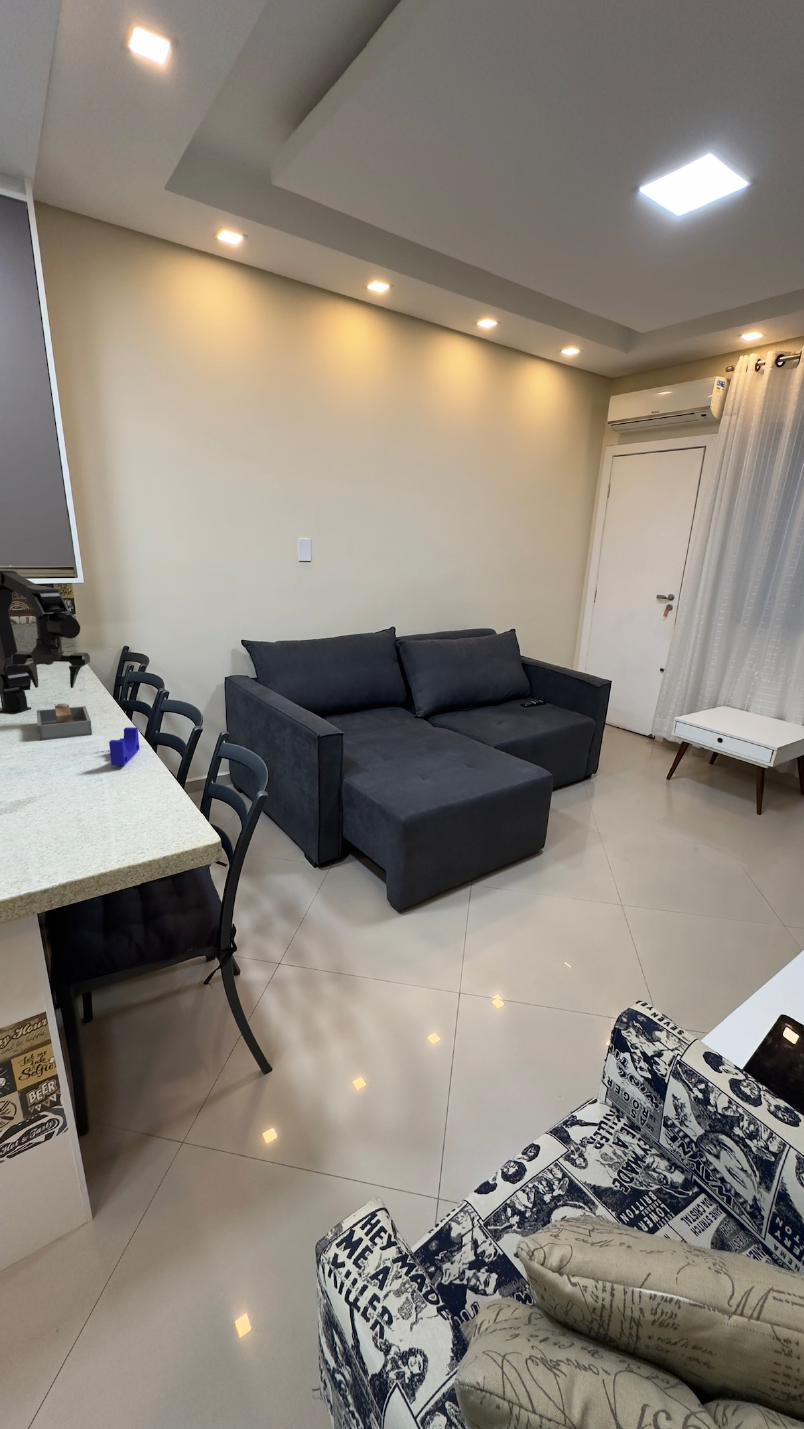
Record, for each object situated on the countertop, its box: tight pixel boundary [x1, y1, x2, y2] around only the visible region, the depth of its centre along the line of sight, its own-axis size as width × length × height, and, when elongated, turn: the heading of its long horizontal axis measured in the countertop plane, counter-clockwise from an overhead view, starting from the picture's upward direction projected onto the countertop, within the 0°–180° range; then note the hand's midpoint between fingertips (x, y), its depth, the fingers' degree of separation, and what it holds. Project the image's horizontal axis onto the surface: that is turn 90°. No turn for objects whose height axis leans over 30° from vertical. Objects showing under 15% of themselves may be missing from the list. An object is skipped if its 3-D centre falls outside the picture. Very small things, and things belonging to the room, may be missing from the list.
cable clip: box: [108, 726, 140, 766], centre depth 147 cm, size 12×4×6 cm, turn 7°
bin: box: [36, 705, 93, 741], centre depth 167 cm, size 18×13×4 cm
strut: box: [54, 703, 72, 724], centre depth 166 cm, size 4×12×6 cm, turn 32°
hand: (54, 687), depth 169 cm, fingers open, 9 cm apart
